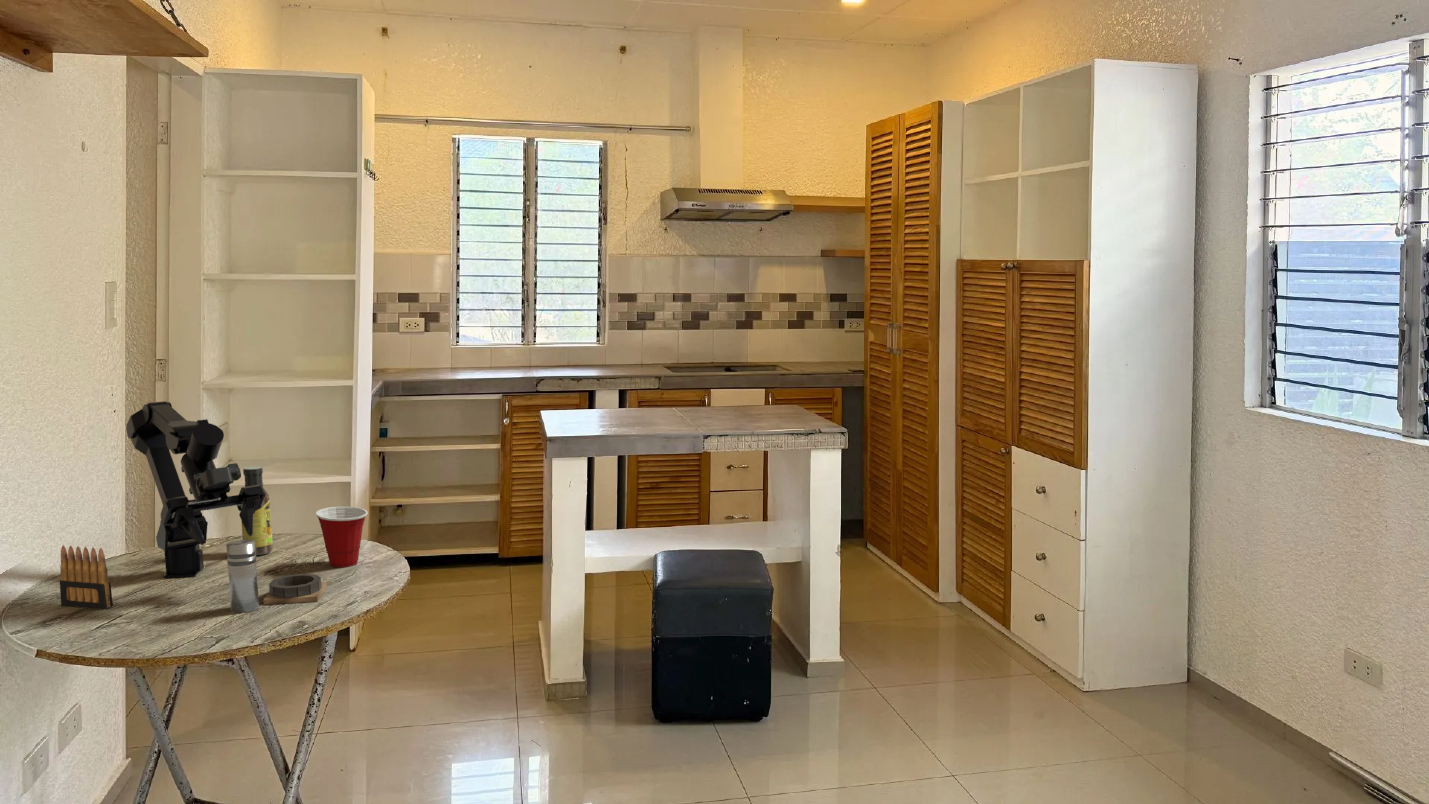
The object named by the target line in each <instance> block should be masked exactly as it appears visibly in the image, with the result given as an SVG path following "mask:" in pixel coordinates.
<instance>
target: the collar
mask: <svg viewBox="0 0 1429 804" xmlns="http://www.w3.org/2000/svg"><path fill="white" fill-rule="evenodd" d="M327 586H328V585H327V581H322V577H321V576H319V575H317V574H311V573H296V574H295V573H294V574H288V575H283V576H280V577H277V578H274V579H272V580H271V581H270V582H269V583H268V587H269V592H268V593H267V595H266V596H265V597H264V598H263V605H278V604H279V605H280V604H281V605H282V604H293V603H294V604H296V603H297V604H298V603H311V602H312V603H313V602H314V603H315V602H319V600H320V598H321V596H322V595H323V593H324V592H325V590H326V589H327ZM323 591H324V592H323Z"/></svg>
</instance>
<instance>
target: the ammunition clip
mask: <svg viewBox="0 0 1429 804" xmlns="http://www.w3.org/2000/svg"><path fill="white" fill-rule="evenodd" d="M60 577H61V579H60V580H59V589H60V590H59V592H60V606H61V607H68V608H69V607H70V608H71V607H73V608H83V609H93V610H103V609H106V610H108V608H109V609H111V608H113V607H114V601H113V593H112V585H111V581H109V572H108V567H107V562H106V556H105V553H104V550H103V547H100V548H99V550H98V553H97V551H96V549H95V547H94V546H93V547H92V548H91V550H90V553H89V550H88V548H87V547H86V546H84V547H83V551H81V548H80V546H79V545H78V546H77V547H76V549H75V551H74V548H73V546H72V545H69V547H68V551H67V549H66V546H65V545H64V544H63V545H62V546H61V549H60ZM112 606H113V607H112Z"/></svg>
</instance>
